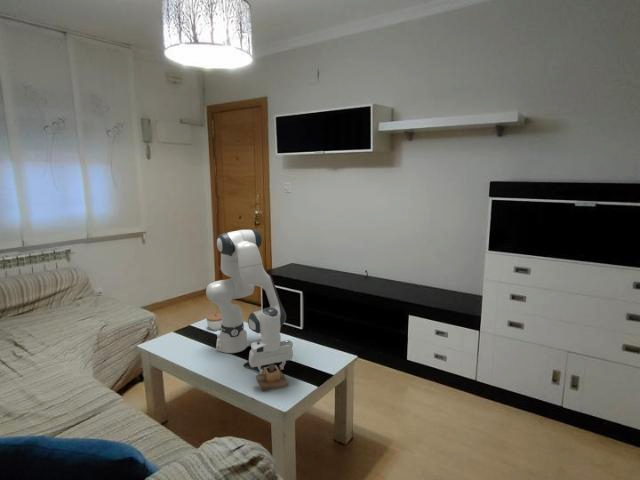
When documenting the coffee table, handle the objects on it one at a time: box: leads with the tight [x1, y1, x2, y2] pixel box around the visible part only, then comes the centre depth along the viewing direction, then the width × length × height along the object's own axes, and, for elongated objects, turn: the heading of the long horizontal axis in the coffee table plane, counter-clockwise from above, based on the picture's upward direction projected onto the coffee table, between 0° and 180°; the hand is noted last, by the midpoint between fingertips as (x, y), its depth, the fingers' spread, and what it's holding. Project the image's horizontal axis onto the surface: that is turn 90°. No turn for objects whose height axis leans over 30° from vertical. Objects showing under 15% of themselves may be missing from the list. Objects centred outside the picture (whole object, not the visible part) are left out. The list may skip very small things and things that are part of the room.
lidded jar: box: [206, 312, 222, 331], centre depth 241 cm, size 11×11×9 cm
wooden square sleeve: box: [264, 364, 280, 384], centre depth 181 cm, size 6×6×5 cm
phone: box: [242, 360, 269, 373], centre depth 196 cm, size 8×1×15 cm
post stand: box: [255, 363, 289, 393], centre depth 181 cm, size 12×12×10 cm
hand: (271, 371), depth 181 cm, fingers open, 8 cm apart
